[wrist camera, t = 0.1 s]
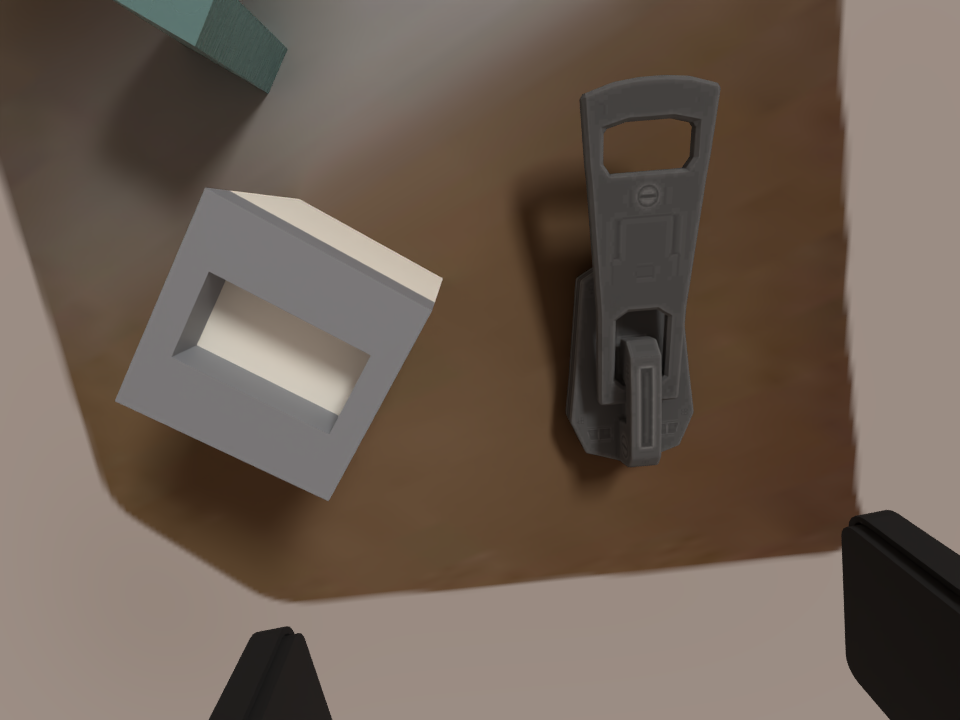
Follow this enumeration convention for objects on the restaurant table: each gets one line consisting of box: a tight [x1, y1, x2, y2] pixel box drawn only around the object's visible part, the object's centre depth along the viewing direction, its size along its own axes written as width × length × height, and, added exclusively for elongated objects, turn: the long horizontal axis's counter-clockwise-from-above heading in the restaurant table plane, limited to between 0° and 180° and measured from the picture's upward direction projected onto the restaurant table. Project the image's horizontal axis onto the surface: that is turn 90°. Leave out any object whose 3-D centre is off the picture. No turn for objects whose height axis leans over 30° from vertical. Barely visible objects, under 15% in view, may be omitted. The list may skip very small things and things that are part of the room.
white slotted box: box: [115, 188, 443, 501], centre depth 32 cm, size 11×11×14 cm
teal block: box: [113, 0, 287, 93], centre depth 30 cm, size 3×6×10 cm, turn 61°
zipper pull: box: [566, 75, 720, 467], centre depth 36 cm, size 9×7×25 cm
